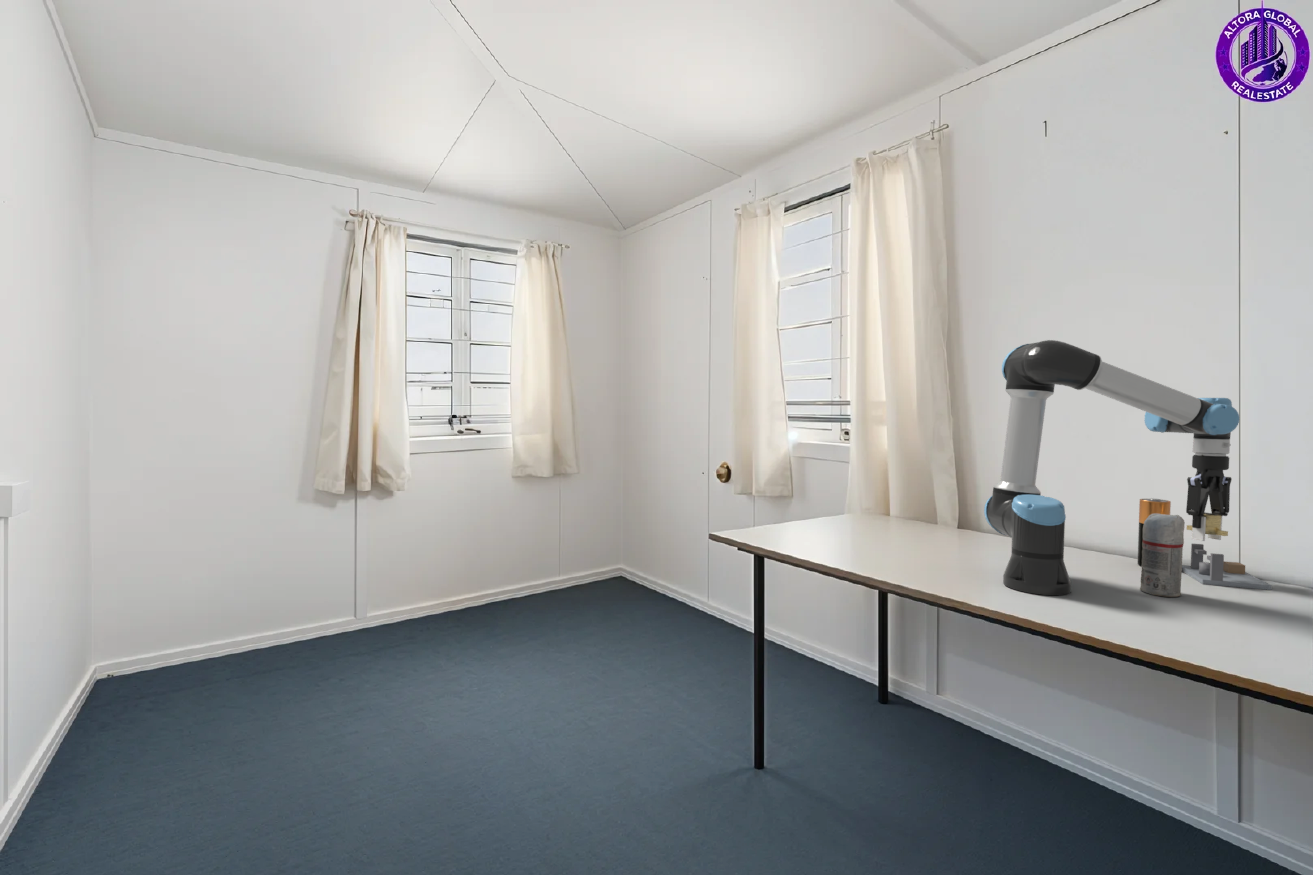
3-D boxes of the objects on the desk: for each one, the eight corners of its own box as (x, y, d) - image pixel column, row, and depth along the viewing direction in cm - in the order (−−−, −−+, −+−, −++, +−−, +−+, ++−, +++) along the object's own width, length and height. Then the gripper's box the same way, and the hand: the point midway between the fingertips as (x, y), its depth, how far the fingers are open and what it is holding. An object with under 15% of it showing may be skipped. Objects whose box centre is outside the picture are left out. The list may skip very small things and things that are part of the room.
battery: (1138, 567, 184) (1140, 499, 183) (1136, 562, 190) (1138, 496, 189) (1169, 570, 180) (1171, 501, 179) (1167, 565, 186) (1169, 498, 185)
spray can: (1190, 599, 153) (1193, 518, 152) (1151, 597, 155) (1154, 516, 154) (1169, 589, 162) (1172, 512, 161) (1133, 587, 163) (1135, 511, 162)
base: (1202, 584, 166) (1203, 553, 166) (1178, 568, 182) (1179, 540, 182) (1271, 590, 161) (1272, 558, 161) (1240, 573, 177) (1241, 544, 176)
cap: (1233, 535, 168) (1234, 515, 167) (1218, 536, 166) (1219, 516, 166) (1195, 529, 176) (1196, 509, 176) (1180, 529, 175) (1181, 510, 174)
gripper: (1202, 456, 164) (1197, 544, 165) (1250, 455, 169) (1245, 540, 170) (1171, 454, 171) (1167, 538, 172) (1218, 453, 176) (1214, 535, 177)
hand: (1206, 539), depth 171 cm, fingers closed on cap, 5 cm apart
